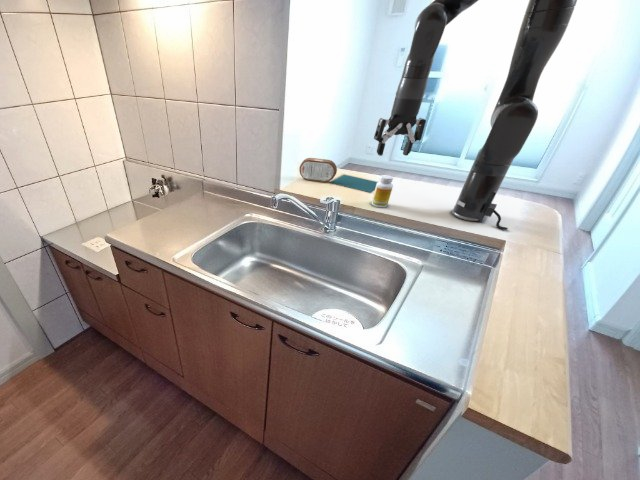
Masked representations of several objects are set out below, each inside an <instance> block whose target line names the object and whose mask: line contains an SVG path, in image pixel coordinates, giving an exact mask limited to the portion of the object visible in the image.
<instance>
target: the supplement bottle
mask: <svg viewBox="0 0 640 480" xmlns="http://www.w3.org/2000/svg"><path fill="white" fill-rule="evenodd" d="M393 180H394V177H393V176H392V175H389V174H382V175H380V178H379V181H377V182H378V183H377V184H376V188H375V189H374V190H373V191H374V192H373V196H372V199H371V205H372V206H374V207H375V208H386V207H388V204H389V201H390V198H391V194H392V192H393V189H394V184H393V183H392V182H393Z"/></svg>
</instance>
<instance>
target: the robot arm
mask: <svg viewBox="0 0 640 480" xmlns="http://www.w3.org/2000/svg"><path fill="white" fill-rule="evenodd" d="M477 2H479V0H433V1H432V2H430V3H429V4H428V5H427V6H425V7H424V8H423V9H422V10H421V11H420V13H418V15H417V17H416V19H415V22H414V32H413V35H412V36H413V37H412V41H411V44H410V49H409V53H408V55H407V57H406V59H405V61H404V66H403V69H402V74H401V78H400V80H399V82H398V86H397V89H396V92H395V97H394V100H393V104H392V108H391V113H390V117H389V118H383V117H380V118H379V119H378V122H377V126H376V129H375V131H374V136H373V140H375V141H377V142H378V144H377V148H376V153H377V155H378V156H380V157H383V155H384V151H385V147H386V142H387V141H388V140H389V139H390V138H392V137H393V136H399V135H401V136H405V138H406V140H407V141H405V145H404V148H403V151H402V155H403V156H409V154H410V153H411V151H412V148H413V145H414V143H416V142H418V141H419V142H420V141H421V140H422V137H423V133H424V129H425V126H426V122H427V120H426V119H425V118H423V117H419V118H417V117H418V115H419V112H420V109H421V105H422V104H423V100H424V96H425V93H426V89H427V85H428V82H429V81H428V80H429V76H430V74H431V70H432V66H433V63H434V59H435V55H436V52H437V50H438V48H439V45H440V42H441V40H442V38H443V35H444V32H445V29H446V26H448V25H449V24H450V23H451V22H452V21H454V20H455V19H456V18H457V17H459V15H460V14H461V13H463V12H465V11H466V10H467V9H470V8H471V7H472V6H474V5H475V4H476V3H477ZM577 2H578V0H528V4H527V6H526V9H525V11H524V14H523V18H522V21H521V24H520V26H519V27H520V28H519V30H518V35H517V38H516V42H515V45H514V49H513V53H512V56H511V60H510V65H509V69H508V74H507V77H506V80H505V82H504V84H503V88H502V90H501V93H500V95H499V98H498V99H497V102H496V104H495V106H494V108H493V111H492V114H491V115H490V127H491V128H490V131H489V133H488V135H487V138H486V139H485V141H484V144H483V146H481V148H480V149H479V150H478V151H477V154H476V156H475V159H474V161H473V163H472V165H471V168H470V170H469V172H468V175H467V177H466V178H465V182H464V184H463V186H462V188H461V191H460V193H459V195H458V198H457V200H456V202H455V205H454V207H453V208H452V211H451V214H452V215H453V216H454V217H456V218H458V219H461V220H465V221H469V222H479V223H482V222H483V221H484V220H485V218H486V217H488V218H491V217H492V215H493V214H494V215H495V216H496V217H497V221H496V223H495V226H496V227H497V228H498V229H499V230H504V231H507V230H508V229H509V227H504V226H501V225H500V223H501V221H502V217H501V215H500V213H498V211H497V210H495V209H496V208H497V206H498V204H497V203H493V202H494V200H495V198H496V196H497V193H498V192H499V190H500V187H501V185H502V183H503V182H504V179H505V177H506V175H507V173H508V172H509V169H510V167H511V165H512V163H513V162H514V160H515V159H516V157H517V156H518V155H519V154H520V152H521V151H522V149H523V147H524V145H525V144H526V143H527V142H526V141H527V140H528V138H529V136H530V135H531V132H532V131H533V129H534V127H535V124H536V122H537V120H538V117H539V109H538V106H537V105H536V104H535V103H534V102H533V101H534V98H535V93H536V91H537V87H538V83H539V81H540V77H541V76H542V73H543V71H544V69H545V68H546V66H547V65H548V62H549V61H550V60H551V58H552V56H553V55H554V53H555V51H556V50H557V48H558V46H559V44H560V43H561V41H562V39H563V37H564V35H565V33H566V31H567V29H568V26H569V23H570V21H571V19H572V15H573V13H574V11H575V8H576V5H577ZM387 126H388V127H387ZM414 126H415V131H413V128H414ZM386 127H387V128H386ZM385 128H386V130H385ZM384 130H385V131H384Z"/></svg>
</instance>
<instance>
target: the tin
mask: <svg viewBox="0 0 640 480" xmlns="http://www.w3.org/2000/svg"><path fill="white" fill-rule="evenodd" d="M298 171H299V175H300V176H301V177H302V178H303V180H307V181H314V182H321V183H328V182H331V181H333V180H334V179H335V177H336V176H337V172H338V167H337V165H336V163H335V162H334V161H333V160H331V159H325V158H318V157H316V158H315V157H307V158H305V159H303V160H302V161H301V163H300V165H299V169H298Z"/></svg>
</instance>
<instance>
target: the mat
mask: <svg viewBox="0 0 640 480" xmlns="http://www.w3.org/2000/svg"><path fill="white" fill-rule="evenodd" d="M378 182H379V181H375V180H370V179H366V178H362V177H358V176H357V177H356V176H352V175H347V174H343V175H340V176H339V177H337V178H334V179H332V180H330V181H329V184H334V185H337V186H342V187H344V188H345V187H346V188H351V189H355V190H358V191H361V192H366V193H371V192H373V191H375V188H376V184H377V183H378Z"/></svg>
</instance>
